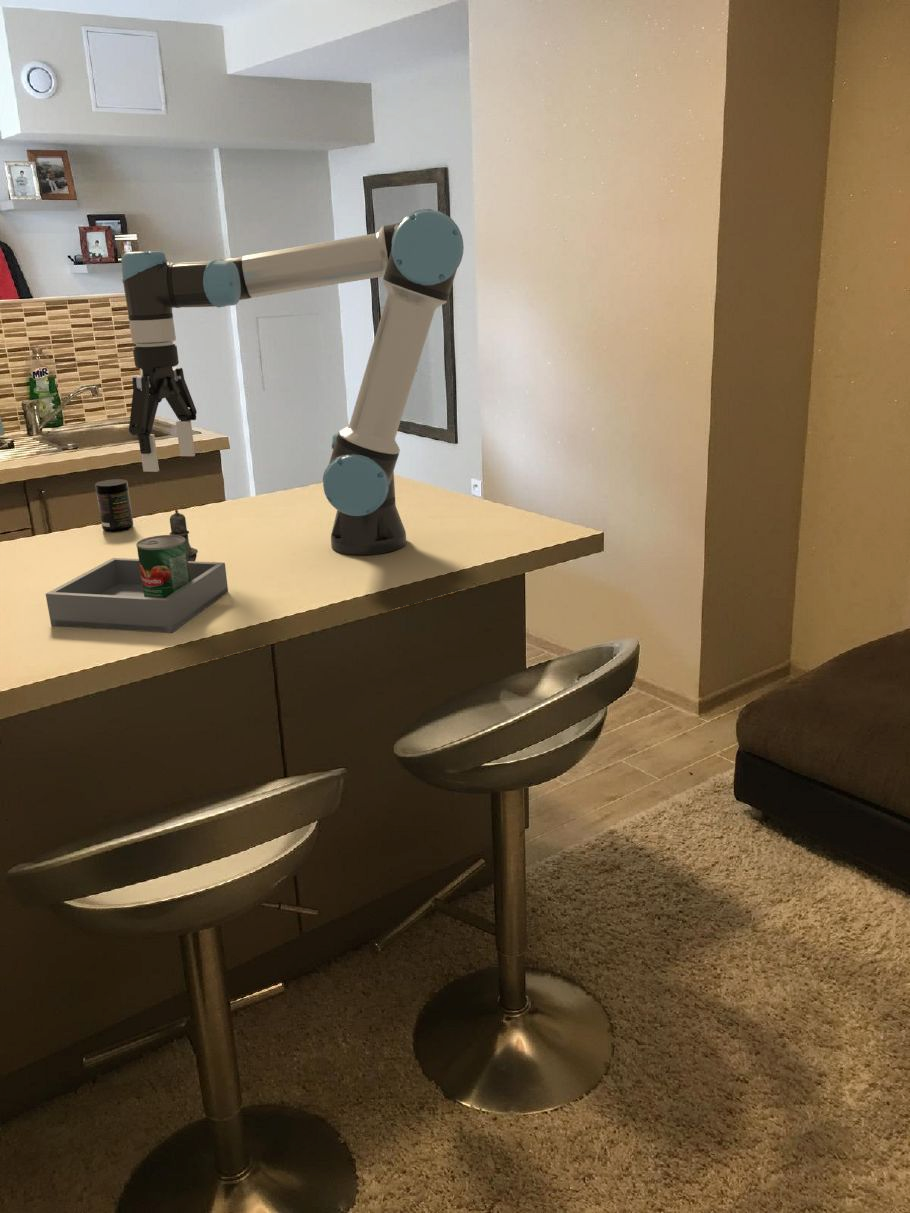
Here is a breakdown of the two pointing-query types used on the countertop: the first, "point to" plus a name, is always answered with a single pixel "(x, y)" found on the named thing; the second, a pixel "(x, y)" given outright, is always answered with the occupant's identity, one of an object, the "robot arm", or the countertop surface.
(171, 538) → the canned tomato
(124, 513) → the supplement container
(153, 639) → the countertop surface
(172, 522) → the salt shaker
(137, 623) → the tote
